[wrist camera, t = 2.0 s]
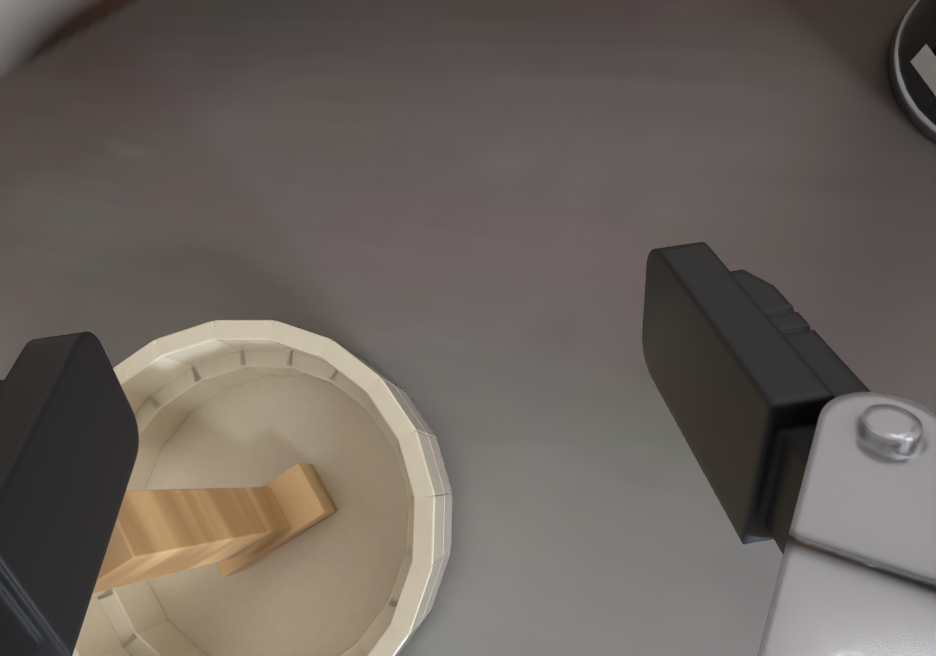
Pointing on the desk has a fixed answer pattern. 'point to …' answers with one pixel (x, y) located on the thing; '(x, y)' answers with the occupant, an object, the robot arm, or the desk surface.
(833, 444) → the robot arm
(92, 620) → the bowl
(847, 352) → the desk surface
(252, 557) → the wooden t-shaped block
